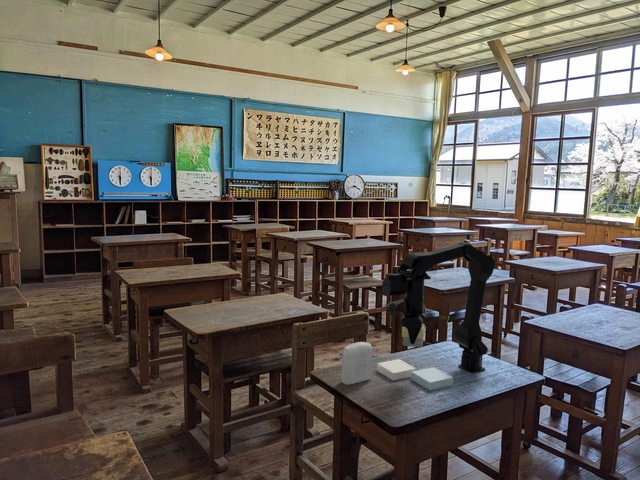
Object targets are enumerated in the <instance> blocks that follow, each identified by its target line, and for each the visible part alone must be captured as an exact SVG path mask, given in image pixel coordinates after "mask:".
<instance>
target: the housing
mask: <svg viewBox="0 0 640 480" xmlns="http://www.w3.org/2000/svg"><path fill="white" fill-rule="evenodd" d="M422 324H423V325H422V328H421V330H420V332H419V334H418V336H417V339H416V341H415V343H414V344H411V343H410V339H409V334H408V330H407V328H406V327H402V326H401V337H402V346H403V347H412V348H413V347H415V348H422V347H423V343H424V336H425V323H422Z"/></svg>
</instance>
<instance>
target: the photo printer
mask: <svg viewBox="0 0 640 480" xmlns="http://www.w3.org/2000/svg"><path fill="white" fill-rule="evenodd" d="M341 352H342V355H341V356H342V357H341V358H342V359H341V361H342V362H341V383H342V384H343V385H347V386H348V385H353V384H357V383H361V382H366V381H369V380H371V379H372V368H373V367H372V365H373V347H372V344H371V343H369V342H365V341H359V342H358V341H357V342H353V343H350V344H349V345H346V346H345V347H344V348H343V349H342V351H341Z"/></svg>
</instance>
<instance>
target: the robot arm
mask: <svg viewBox="0 0 640 480" xmlns="http://www.w3.org/2000/svg"><path fill="white" fill-rule="evenodd" d="M460 258H462V259H463V260H465V261H466V262H467V263H468V264H467V265H468V266H467V267H468V268H467V270H468V273H469V276H470V283H469V288H468V294H467V299H466V300H467V302H466V307H465V312H464V317H463V320H462V322H461V323H457V324H456V325H455V332H454V335H453V336H455V341H456V343H457V344H458V346H459V349H463V350H462V355H461V360H460V364H458V368H461V369H463V370H465V371H467V372H468V373H470V374H471V373H472V374H473V373H478V372H482V371H486V368H485V367H484V366H482V365H483V356H484V355H487V353H488V351H489V348H488V347H487V345H486V344H485V343H484V342H483V341H482V340H483V339H482V338H483V333H482V332H483V331H482V329H481V325H480V319H481V315H482V308H483V303H484V298H485V291H486V286H487V285H486V284H487V281H488V280H490V279H489V278H491V276H492V275H493V273H494V270H495V268H496V267H495V266H496V259H495V258H494V257H493V255H491V254H486V253H485V252H484V251H481V250H480V249H477V248H476V247H474V246H473V245H472V244H471V243H468V242H463V241H461V242H459V243H457V244H454V245H449V246H445V247H442V248H439V249H435V250H433V251H432V250H431V251H428V252H425V251H424V252H423V251H422V252H419V251H418V252H417V251H416V252H409V253H407V254H405V257H404V259H403V262H402V263H401V265H400V266H399V267H398V269H397V271H396V273H386V274H385V277H384V279H383V281H382V283H381V289H382V293H383V294H384V295H385V297H390V296H391V297H392V296H403V295H404V297H403V298H402V299H397V300H394V301H391V302H388V303H387V305H386V309H387V312H388V313H389V316H394V315H395V314H399V313H402V314H403V316H402V317H401V320H400V327H401V328H402V327H406V328H407V330H408V334H409V339H410V343H411V344H414V343H415V341H416V339H417V336H418V334H419V332H420V330H421V328H422V325H423V324H424V323H423V322H424V320H425V315H426V312H427V311H426V310H427V309H426V307H427V306H426V305H425V304H424V302H425V301H424V300H425V281H426V280H431V279H432V278H431V276H430V275H429V274H428V273H427V272H429V271H430V270H432V269H433V267H435V266H437V265H439V264H444V263H446V262H449V261H453V260H457V259H460Z"/></svg>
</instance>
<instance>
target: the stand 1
mask: <svg viewBox="0 0 640 480" xmlns="http://www.w3.org/2000/svg"><path fill="white" fill-rule="evenodd" d="M376 364H377V365H376V371H377V372H379V373H380V374H381V375H383V376H385V377H386V376H387V378H388V379H389V380H392V381H393V382H394V381H399V380H403V378H404V379H408V378H411V372H413V371H417V368H416V367H414V366H413V365H410V364H408V363H407V362H405V361H403V360H401V359H393V360H389V361H383V362H378V363H376ZM398 379H399V380H398Z"/></svg>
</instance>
